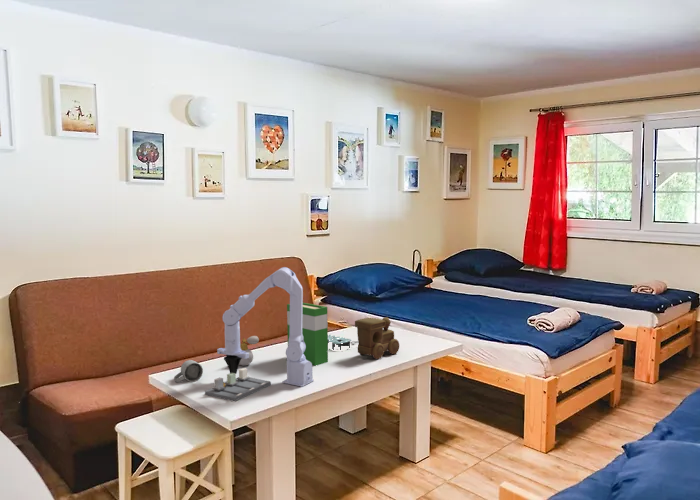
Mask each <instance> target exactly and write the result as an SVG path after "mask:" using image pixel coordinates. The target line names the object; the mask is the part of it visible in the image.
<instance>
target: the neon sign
mask: <svg viewBox="0 0 700 500" xmlns="http://www.w3.org/2000/svg"><path fill="white" fill-rule="evenodd" d="M332 339H333V340H332ZM329 340H330V341H329ZM329 342H332V349H333V350H334V347H335V344H336V345H338V347H340V350H341V346H349V348H350V343H351V344H353V343H359V342H358V340H357V341H354V340H353V341H352V339H351V338H346V337H343V336H342V337H340V336H335V335H331V334H329V335H328V343H329ZM341 343H343V344H341ZM330 352H333V351H332V350H331V351H330Z"/></svg>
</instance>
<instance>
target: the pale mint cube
mask: <svg viewBox="0 0 700 500" xmlns="http://www.w3.org/2000/svg"><path fill="white" fill-rule="evenodd" d="M236 374H237V373H236ZM236 374H235V373H230V372H229V373H228V374H226V382H224V383H225V384H227V385H231V386H233V385H235V384H237V383H238V382H236V378H237V377H236Z"/></svg>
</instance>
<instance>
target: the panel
mask: <svg viewBox="0 0 700 500" xmlns="http://www.w3.org/2000/svg"><path fill="white" fill-rule="evenodd" d="M249 377H250V376H249ZM237 378H238V377H236V382H238V383H237V384H235V385H233V386H231V385H227V384H225V383H226V382H223V386H224V387H226V389H223V390H221V391H217V390H213V389H212V388H209V389H207V390H205V391H204V395H206V396H210V397H215V398H219V399H223V400H228V401H231V402H236V401H239V400H241V399H243V398H245V397H247V396H250V395H251V394H254V393H256V392H258V391H260V390H262V389H264V388H266V387H269V386H271V385H272V384H271V383H272V381H269V380H265V379H261V378H260V379H259V378H255V377H250V378H249V379H247V380H244V381H243V380H239V379H237Z"/></svg>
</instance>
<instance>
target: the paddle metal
mask: <svg viewBox="0 0 700 500" xmlns="http://www.w3.org/2000/svg"><path fill="white" fill-rule="evenodd" d="M213 382H214V387H212V388H211V389H213V390H217V391H221V390H223V389H226V387H224V386H223V383H224V378H223V377H217V378H215V379H214V381H213Z"/></svg>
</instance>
